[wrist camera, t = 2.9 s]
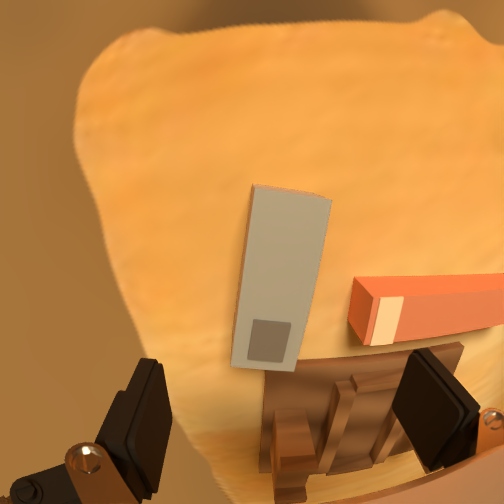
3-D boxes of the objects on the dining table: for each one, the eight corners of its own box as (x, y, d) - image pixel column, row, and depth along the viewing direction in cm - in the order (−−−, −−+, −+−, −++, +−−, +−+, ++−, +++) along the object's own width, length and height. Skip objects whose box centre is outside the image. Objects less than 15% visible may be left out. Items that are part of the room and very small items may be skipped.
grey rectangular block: (252, 183, 22) (255, 188, 16) (311, 192, 22) (333, 200, 16) (232, 327, 25) (230, 369, 19) (284, 333, 25) (294, 374, 20)
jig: (266, 360, 26) (274, 433, 17) (458, 341, 26) (502, 384, 18) (258, 466, 31) (261, 521, 22) (411, 443, 31) (433, 486, 23)
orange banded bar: (353, 275, 24) (374, 298, 20) (502, 272, 25) (528, 286, 20) (346, 317, 25) (364, 346, 21) (493, 304, 26) (517, 321, 21)
